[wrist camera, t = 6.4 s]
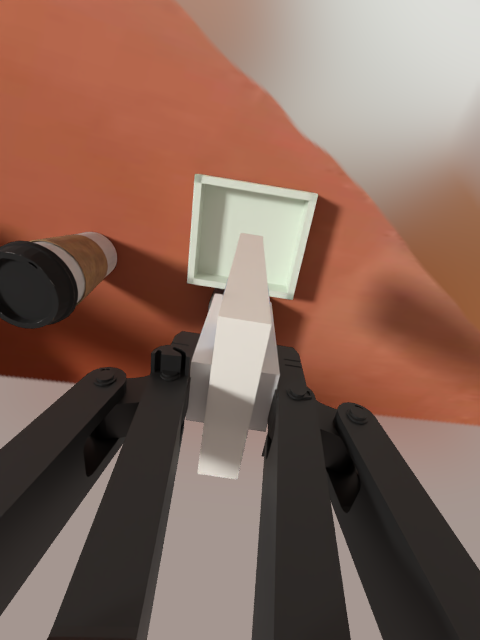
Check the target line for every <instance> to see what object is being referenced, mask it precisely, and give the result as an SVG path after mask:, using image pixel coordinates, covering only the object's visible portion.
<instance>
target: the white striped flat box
mask: <svg viewBox="0 0 480 640" xmlns="http://www.w3.org/2000/svg"><path fill="white" fill-rule="evenodd" d="M271 325H272V323H271V313H270V298H269V288H268V283H267V274H266V264H265V254H264V244H263V236H258V235H252V234H246V233H240V237H239V240H238V244H237V248H236V252H235V255H234V259H233V263H232V266H231V270H230V274H229V277H228V279H227V283H226V286H225V290H224V294H223V297H222V303H221V307H220V311H219V314H218V320H217V328H216V335H215V343H214V351H213V358H212V366H211V373H210V381H209V389H208V396H207V404H206V412H205V419H204V427H203V435H202V443H201V450H200V458H199V465H198V474H204V475H210V476H217V477H224V478H231V479H237V478H238V474H239V469H240V465H241V460H242V456H243V451H244V447H245V442H246V438H247V433H248V429H249V424H250V420H251V415H252V411H253V406H254V402H255V397H256V393H257V388H258V384H259V379H260V375H261V370H262V366H263V361H264V357H265V352H266V348H267V343H268V339H269V334H270V330H271Z"/></svg>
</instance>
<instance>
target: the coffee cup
mask: <svg viewBox="0 0 480 640" xmlns="http://www.w3.org/2000/svg"><path fill="white" fill-rule="evenodd" d="M116 264H117V253H116V250H115V248H114V246H113V244H112V243H111V242H110V241H109V240H108V239H107V238H106V237H105V236H103V235H101V234H99V233H96V232H85V233H80V234H73V235H66V236H59V237H53V238H46V239H39V240H32V241H15V242H10V243H8V244H6V245H4V246H1V247H0V318H2V319H3V320H5V321H6V322H8V323H10V324H12V325H15V326H18V327H22V328H31V329H33V328H40V327H43V326H45V325H49V324H54V323H56V322H59V321H61V320H63V319H65V318H66V317H68V316H69V315H70V314H71V313H72V312H73V311H74V309H75V307H76V306H77V305H78V304H79V303H80V302H81V301H82V300H83V299H84V298H85V297H86V296H87V295H88V294H89V293H90V292H91V291H92V290H93V289H94V288H95V287H96V286H97V285H98V284H99V283H100V282H101V281H102V280H103V279H104V278H105V277H106V276H107V275H108V274H109V273H111V272H112V270H113V269H114V268H115V266H116Z"/></svg>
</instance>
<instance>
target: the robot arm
mask: <svg viewBox="0 0 480 640" xmlns="http://www.w3.org/2000/svg"><path fill="white" fill-rule="evenodd" d="M222 297H223V295H221V294H214V297H213V300H212V303H211V306H210V309H209V312H208V315H207V317H206V320H205V323H204V326H203V329H202V332H201V334H197V333H191V332H185V331H182V332H180V333H179V334H177V335H176V336H175V337H174V339H173V341H172V343H171V345H165V346H160V347H158V348H156V349H154V350H153V352H152V353H151V373H150V375H148V376H145V377H139V378H126V374H125V373H124V372H123V371H122V370H120V369H118V368H113V367H105V368H99V369H96V370H93V371H92V372H90V373H88V374H87V375H86V376H85V377H83V378H82V379H81V380H80V381H79V382H78V383H77V384H75V385H74V386H73V387H72V388H71V389H70V390H68V391H67V392H66V393H65V394H64V395H63V396H61V397H60V398H59V399H58V400H57V401H56V402H55V403H54V404H52V405H51V406H50V407H49V408H48V409H46V410H45V411H44V412H43V413H42V414H41V415H40V416H38V417H37V418H36V419H35V420H34V421H33V422H31V424H29V425H28V426H27V427H26V428H25V429H23V430H22V431H21V432H20V433H19V434H18V435H17V436H15V437H14V438H13V439H12V440H11V441H9V442H8V443H7V444H6V445H5V446H4V447H2V448H1V449H0V616H1V614H2V613H3V611H4V610H5V609H6V607H7V606H8V604H9V603H10V602H11V600H12V599H13V597H14V596H15V595H16V593H17V592H18V590H19V589H20V587H21V586H22V585H23V583H24V582H25V581H26V579H27V577H28V576H29V575H30V574H31V572H32V571H33V569H34V568H35V567H36V565H37V564H38V562H39V561H40V559H41V558H42V557H43V555H44V554H45V552H46V551H47V550H48V548H49V547H50V545H51V544H52V543H53V541H54V540H55V538H56V537H57V536H58V534H59V533H60V531H61V530H62V529H63V527H64V526H65V524H66V523H67V521H68V520H69V519H70V517H71V516H72V514H73V513H74V512H75V510H76V509H77V507H78V506H79V505H80V503H81V502H82V500H83V499H84V498H85V496H86V495H87V493H88V492H89V491H90V489H91V488H92V486H93V485H94V484H95V482H96V481H97V479H98V478H99V477H100V475H101V474H102V472H103V471H104V469H105V468H106V467H107V465H108V464H109V463H110V461H111V459H112V458H113V457H114V455H115V454H116V453H117V451H118V450H119V448H120V447H121V446H122V444H123V446H122V449H121V451H120V454H119V456H118V459H117V462H116V464H115V467H114V469H113V472H112V475H111V477H110V480H109V482H108V485H107V487H106V490H105V493H104V495H103V498H102V501H101V503H100V506H99V508H98V511H97V514H96V516H95V519H94V521H93V524H92V526H91V529H90V532H89V534H88V537H87V540H86V542H85V545H84V547H83V550H82V552H81V555H80V557H79V560H78V563H77V565H76V568H75V570H74V573H73V576H72V578H71V581H70V583H69V586H68V589H67V591H66V594H65V596H64V599H63V602H62V604H61V607H60V609H59V612H58V615H57V617H56V620H55V622H54V625H53V627H52V630H51V632H50V634H49V637H48V638H47V640H147V635H148V629H149V623H150V618H151V612H152V606H153V600H154V595H155V589H156V584H157V578H158V572H159V566H160V561H161V555H162V549H163V544H164V537H165V532H166V527H167V521H168V515H169V509H170V504H171V498H172V492H173V487H174V481H175V475H176V469H177V464H178V458H179V452H180V447H181V441H182V435H183V429H184V420H185V416H186V420H190V421H196V422H203V423H204V419H205V412H206V404H207V396H208V389H209V381H210V373H211V366H212V358H213V351H214V343H215V335H216V328H217V320H218V314H219V311H220V307H221V303H222ZM270 313H271V323H272V325H271V330H270V334H269V339H268V343H267V348H266V352H265V357H264V361H263V366H262V370H261V375H260V379H259V384H258V388H257V393H256V397H255V402H254V406H253V411H252V415H251V420H250V424H249V429H251V430H257V431H264V432H265V431H266V427H267V423H268V434H267V437H266V442H265V446H264V449H263V453H262V456H264V469H263V483H262V498H261V514H260V526H259V542H258V557H257V570H256V584H255V599H254V614H253V629H252V640H351V638H350V631H349V624H348V618H347V612H346V604H345V597H344V591H343V583H342V576H341V570H340V563H339V556H338V549H337V543H336V536H335V528H334V522H333V515H332V508H331V503H332V505H333V508H334V511H335V514H336V516H337V519H338V522H339V524H340V527H341V529H342V532H343V535H344V537H345V540H346V543H347V545H348V548H349V551H350V553H351V556H352V559H353V561H354V564H355V567H356V569H357V572H358V575H359V577H360V580H361V582H362V585H363V588H364V590H365V593H366V596H367V598H368V601H369V604H370V606H371V609H372V612H373V614H374V617H375V620H376V622H377V624H378V627H379V630H380V633H381V635H382V638H383V640H480V570H479V569H478V567H477V566H476V564H475V563H474V562H473V560H472V559H471V557H470V556H469V554H468V553H467V551H466V550H465V548H464V547H463V545H462V544H461V542H460V541H459V539H458V538H457V537H456V535H455V534H454V532H453V531H452V529H451V528H450V526H449V525H448V523H447V522H446V520H445V519H444V517H443V516H442V515H441V513H440V512H439V510H438V509H437V507H436V506H435V504H434V503H433V501H432V500H431V499H430V497H429V495H428V494H427V492H426V491H425V489H424V488H423V487H422V485H421V484H420V482H419V481H418V479H417V478H416V476H415V475H414V473H413V472H412V471H411V469H410V467H409V466H408V465H407V463H406V462H405V460H404V459H403V457H402V456H401V454H400V453H399V451H398V450H397V448H396V447H395V445H394V444H393V442H392V441H391V439H390V438H389V437H388V435H387V434H386V432H385V431H384V429H383V428H382V426H381V425H380V423H379V422H378V420H377V419H376V417H375V416H374V415H373V414H372V413H371V412H370V411H369V410H367V409H366V408H365V407H363V406H361V405H358V404H355V403H350V402H348V403H342V404H341V405H339V407H338V409H334V408H331V407H329V406H326V405H324V404H322V403H320V402H318V401H317V400H316V398H315V395H314V393H313V392H312V391H311V390H310V389H309V388H308V387H307V386H306V382H305V378H304V373H303V369H302V365H301V363H300V362H301V361H300V356H299V354H298V353H297V351H296V350H295V349H294V348H292V347H286V346H280V345H276V337H275V328H274V320H273V311H272V302H270ZM330 500H331V501H330Z"/></svg>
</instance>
